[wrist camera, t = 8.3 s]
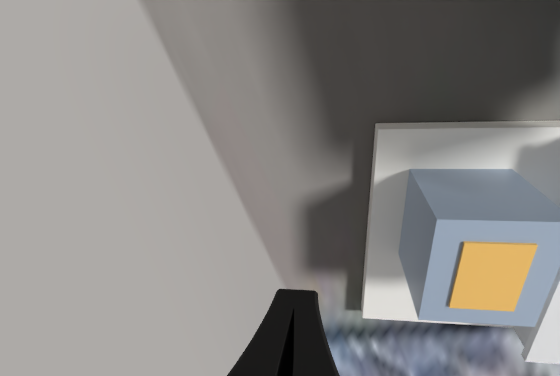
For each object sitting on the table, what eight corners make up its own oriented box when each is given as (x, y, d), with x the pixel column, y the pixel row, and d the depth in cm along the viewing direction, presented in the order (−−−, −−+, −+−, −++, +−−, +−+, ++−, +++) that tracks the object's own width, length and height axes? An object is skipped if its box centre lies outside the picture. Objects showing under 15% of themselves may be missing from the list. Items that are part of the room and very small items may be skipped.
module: (487, 256, 17) (536, 329, 13) (398, 253, 18) (419, 322, 14) (512, 168, 15) (580, 224, 11) (409, 168, 16) (438, 221, 12)
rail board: (543, 316, 20) (579, 365, 17) (361, 305, 21) (366, 349, 19) (627, 119, 15) (699, 144, 12) (375, 123, 16) (385, 145, 13)
